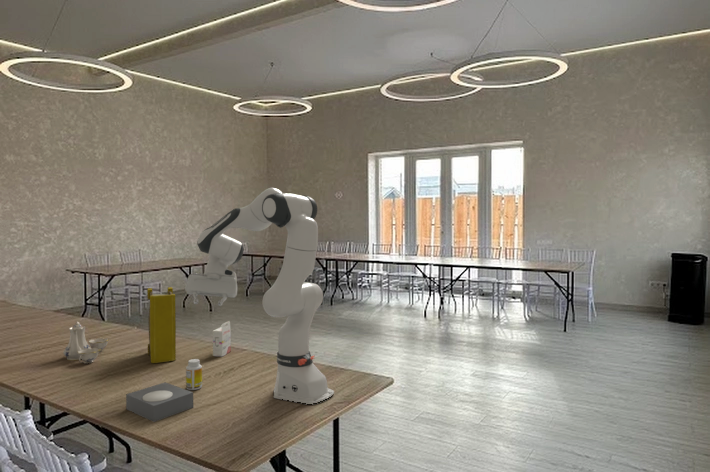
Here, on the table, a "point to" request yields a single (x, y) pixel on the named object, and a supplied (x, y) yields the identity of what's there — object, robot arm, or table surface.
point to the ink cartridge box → (222, 340)
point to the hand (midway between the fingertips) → (207, 304)
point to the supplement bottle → (194, 375)
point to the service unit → (159, 401)
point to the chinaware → (83, 345)
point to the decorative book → (162, 326)
